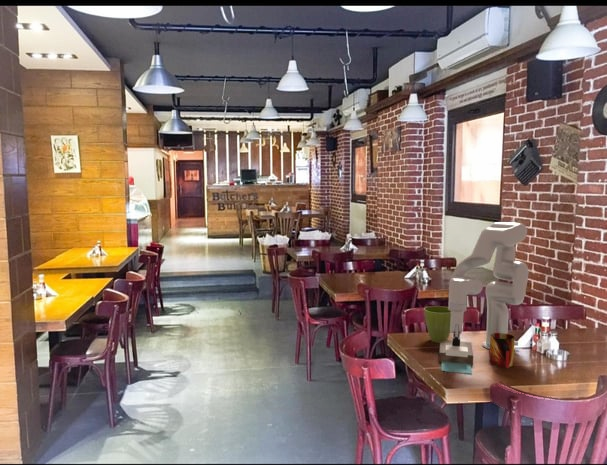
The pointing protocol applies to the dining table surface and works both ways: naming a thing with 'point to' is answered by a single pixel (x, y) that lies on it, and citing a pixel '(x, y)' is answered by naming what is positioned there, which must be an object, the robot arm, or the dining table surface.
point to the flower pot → (437, 322)
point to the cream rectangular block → (457, 351)
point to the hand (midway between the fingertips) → (456, 347)
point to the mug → (502, 349)
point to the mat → (456, 367)
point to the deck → (455, 358)
